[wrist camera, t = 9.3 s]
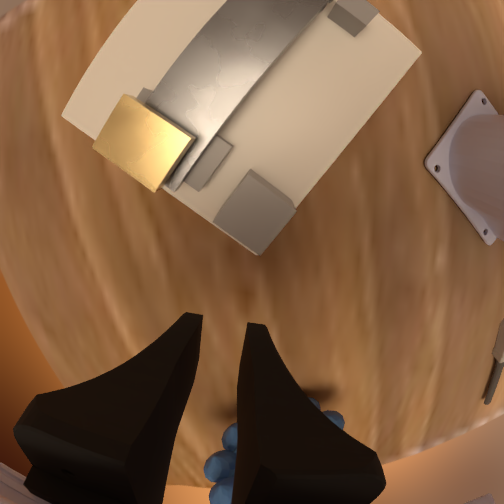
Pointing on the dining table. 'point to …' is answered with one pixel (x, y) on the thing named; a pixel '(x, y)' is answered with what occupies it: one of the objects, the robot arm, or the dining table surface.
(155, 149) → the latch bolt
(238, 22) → the strap
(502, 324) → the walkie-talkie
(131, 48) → the latch base plate
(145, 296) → the dining table surface
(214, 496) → the grapes
